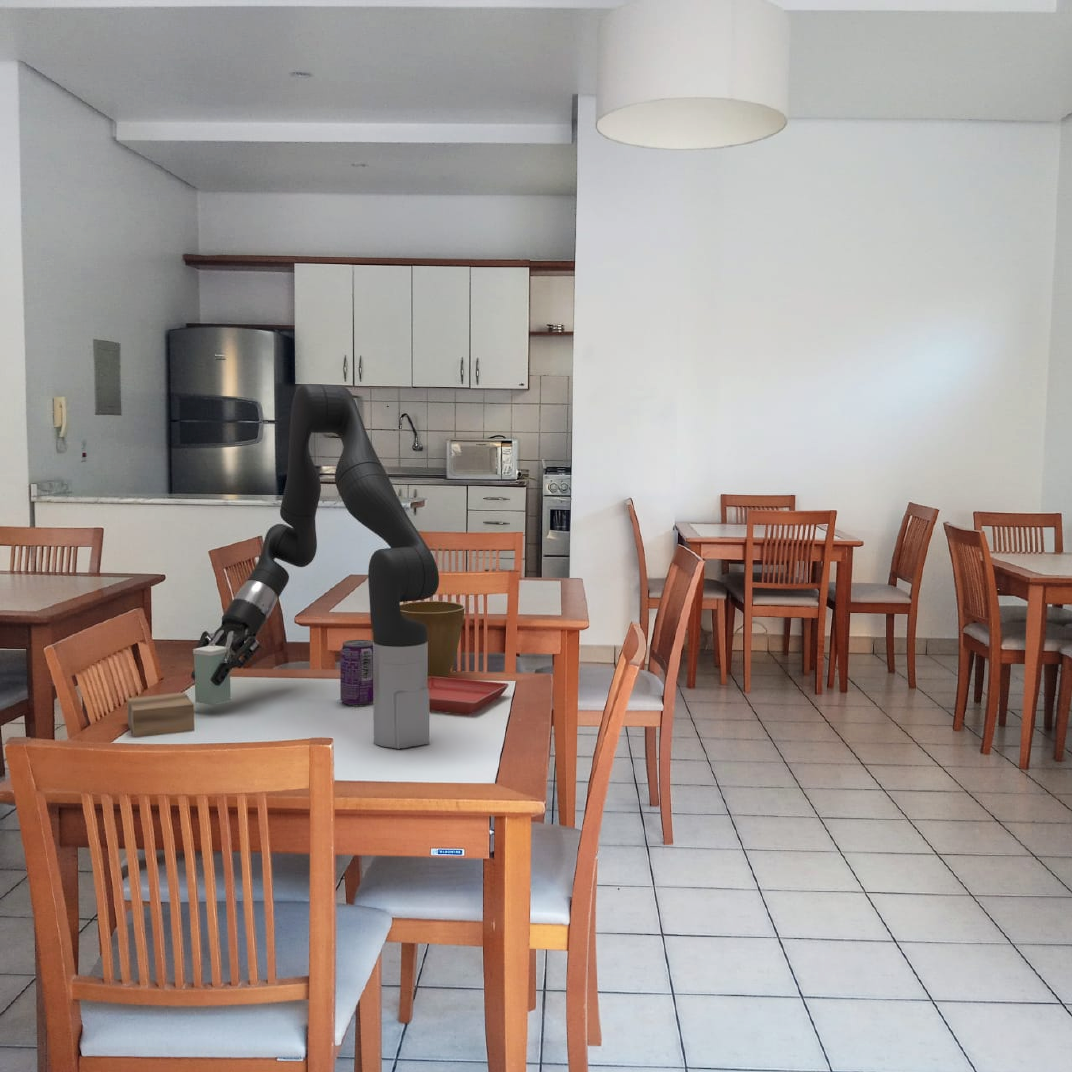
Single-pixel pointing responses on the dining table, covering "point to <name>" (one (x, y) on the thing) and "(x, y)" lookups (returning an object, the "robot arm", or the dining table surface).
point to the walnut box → (160, 714)
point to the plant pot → (438, 631)
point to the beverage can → (356, 672)
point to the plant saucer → (462, 694)
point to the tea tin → (204, 670)
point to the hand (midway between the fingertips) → (204, 681)
